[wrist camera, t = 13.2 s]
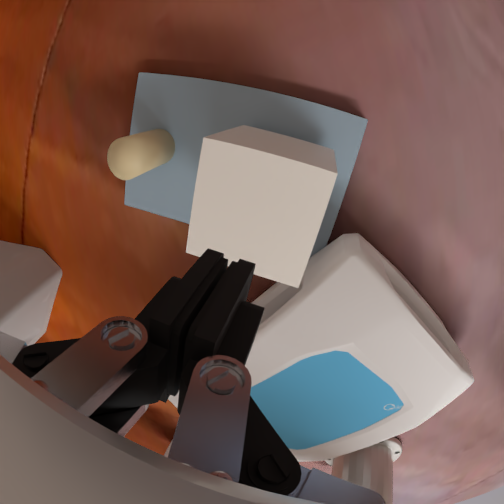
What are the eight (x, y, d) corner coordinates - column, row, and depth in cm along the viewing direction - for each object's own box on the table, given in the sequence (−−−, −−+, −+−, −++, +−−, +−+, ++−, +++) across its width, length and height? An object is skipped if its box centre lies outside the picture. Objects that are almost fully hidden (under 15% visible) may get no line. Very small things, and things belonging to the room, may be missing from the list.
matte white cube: (308, 231, 23) (298, 288, 16) (226, 207, 24) (185, 252, 17) (333, 149, 20) (337, 173, 13) (243, 124, 21) (203, 137, 14)
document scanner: (173, 363, 37) (153, 401, 32) (350, 217, 23) (356, 259, 18) (290, 436, 41) (284, 471, 36) (465, 351, 27) (479, 395, 22)
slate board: (320, 255, 26) (316, 299, 21) (133, 199, 28) (91, 225, 23) (365, 118, 21) (379, 124, 15) (148, 72, 22) (100, 71, 17)
